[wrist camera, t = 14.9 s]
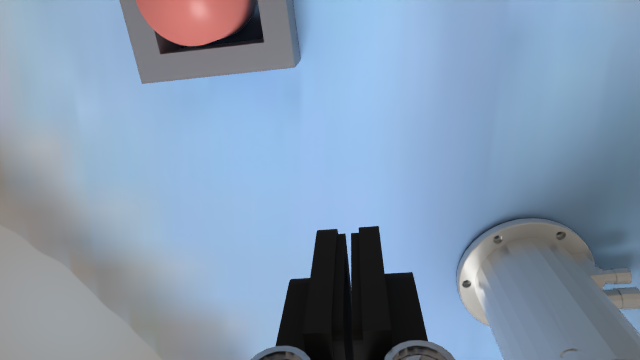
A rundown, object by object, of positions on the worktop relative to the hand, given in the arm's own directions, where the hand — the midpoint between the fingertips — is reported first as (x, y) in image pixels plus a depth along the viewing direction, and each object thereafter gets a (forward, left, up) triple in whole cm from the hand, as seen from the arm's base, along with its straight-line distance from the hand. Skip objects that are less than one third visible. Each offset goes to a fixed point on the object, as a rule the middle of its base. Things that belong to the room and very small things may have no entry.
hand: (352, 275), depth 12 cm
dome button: (+10, -9, -26) cm, 29 cm away
